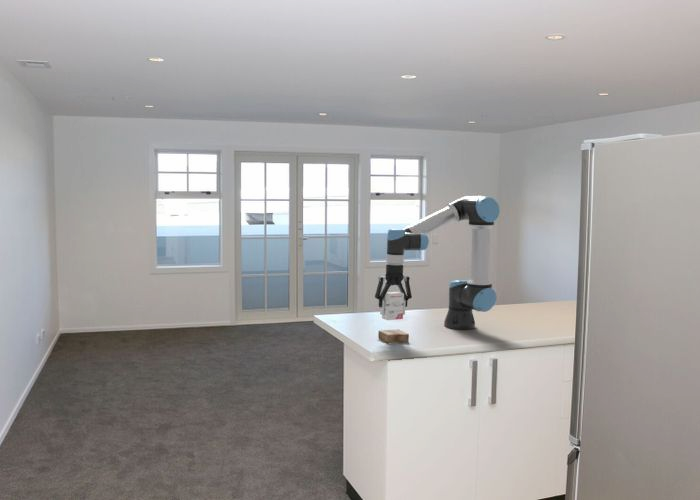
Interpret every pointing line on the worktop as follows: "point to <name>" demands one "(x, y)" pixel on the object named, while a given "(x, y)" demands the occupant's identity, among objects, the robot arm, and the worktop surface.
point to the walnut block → (393, 336)
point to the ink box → (393, 306)
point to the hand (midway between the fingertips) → (392, 314)
